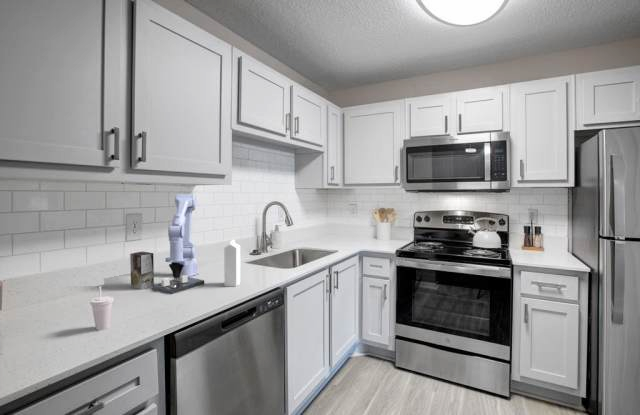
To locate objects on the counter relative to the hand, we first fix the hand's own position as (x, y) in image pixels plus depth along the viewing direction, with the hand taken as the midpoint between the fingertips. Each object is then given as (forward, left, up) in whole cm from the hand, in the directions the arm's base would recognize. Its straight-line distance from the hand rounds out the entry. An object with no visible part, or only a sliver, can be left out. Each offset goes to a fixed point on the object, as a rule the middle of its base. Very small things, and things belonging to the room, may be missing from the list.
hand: (176, 278), depth 156 cm
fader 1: (+8, +3, -1) cm, 9 cm away
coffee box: (+10, -12, -4) cm, 16 cm away
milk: (-15, +22, -4) cm, 27 cm away
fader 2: (0, +5, -1) cm, 5 cm away
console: (+1, +3, -4) cm, 5 cm away
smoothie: (+44, +22, -4) cm, 49 cm away
